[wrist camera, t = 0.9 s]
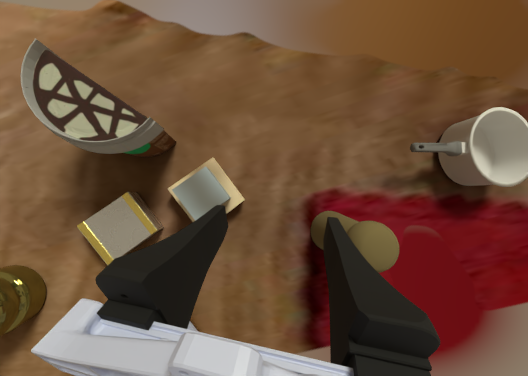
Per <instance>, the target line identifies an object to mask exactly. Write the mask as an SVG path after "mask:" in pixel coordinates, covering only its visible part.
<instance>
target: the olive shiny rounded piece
mask: <svg viewBox="0 0 528 376" xmlns="http://www.w3.org/2000/svg"><path fill="white" fill-rule="evenodd" d="M45 297H46V287H45V284H44V281H43V279H42V278H41V276H40V275H39V274H38V273H37V272H35V271H34V270H32V269H30V268H28V267H24V266H18V265H13V266H6V267H2V268H0V337H1V336H2V335H5V334H7V333H9V332H11V331H13V330H14V329H16V328H17V327H18V326H20V325H22V324H23V323H25V322H27V321H28V320H30V319H31V318H33V317H34V316H35V315H36V314H37V313H38V312H39V310H40V309H41V307H42V305H43V303H44V301H45Z"/></svg>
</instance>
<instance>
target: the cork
mask: <svg viewBox="0 0 528 376" xmlns="http://www.w3.org/2000/svg"><path fill="white" fill-rule="evenodd" d="M328 217H334V218H338V219H339V221H340V223H341V224H342V226H343V228H344V230H345V231H346V233H347V234H348V236H349V237H350V239H351V240H352V242H353V243H354V245H355V246H356V247H357V249H358V250H359V251H360V253H361V254H362V255H363V256H364V258H365V259H366V260H367V261H368V262H369V264H370V265H371V266H372V267H373V268H374V269H375V270H376V271H377V272H378V273H379V272H383V271H385V270H388V269H390V268H391V267H392V266H393V265H394V264H395V262H396V260H397V258H398V255H399V243H398V241H397V238H396V236H395V235H394V233H393V232H392V231H391V229H389V228H388V227H386V226H385V225H383V224H381V223H378V222H375V221H362V222H358V221H355V220H353V219H351V218H349V217H346V216H344V215H342V214H339V213H337V212H334V211H325V212H322V213H320V214H319V215H318V216H317V217H315V219H314V221H313V222H312V225H311V237H312V240H313V242H314V243H315V244H316V246H318V247H319V248H321V249H322V250H324V249H323V238H324V233H325V228H326V223H327V218H328Z"/></svg>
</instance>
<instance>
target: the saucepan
mask: <svg viewBox="0 0 528 376" xmlns="http://www.w3.org/2000/svg"><path fill="white" fill-rule="evenodd" d="M410 149H411V151H412V152H438V155H439V161H440V164H441V166H442V168H443V170H444V172H445V173H446V174H447V176H448V177H449V178H450V179H451V180H453V181H454V182H456V183H458V184H461V185H464V186H478V185H498V186H503V187H510V186H515V185H517V184H520V183H521V182H523V181H524V180H525V179H526V178H527V177H528V123H527V121H526V120H525V119H524V118H523V117H522V116H521V115H520V114H518V113H517V112H515V111H513V110H511V109H508V108H503V107H497V108H492V109H489V110H487V111H485V112H484V113H482V114H481V115H480V116H477V117H474V118H471V119H468V120H465V121H462V122H459V123H456V124H453V125H452V126H450V127H449V128H448V129H447V130H446V131H445V132H444V134H443V135H442V137H441V140H440V143H413V144H411V146H410Z"/></svg>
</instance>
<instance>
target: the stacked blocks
mask: <svg viewBox="0 0 528 376" xmlns="http://www.w3.org/2000/svg"><path fill="white" fill-rule="evenodd" d="M168 190H169V191H170V193H171V194H172V195H173V197H174V198H175V199H176V201H177V202H178V203H179V205H180V206H181V207H182V209H183V210H184V211H185V212H186V214H187V215H188V216H189V218H190V219H191V220H192V222H194V221H196V220H197V219H198V218H200V217H201V216H202V215H204V214H205V213H207V212H208V211H209V210H211V209H212V208H213V207H215V206H216V205H224V206H225V209H226V214H227V213H228V212H229V211H231V210H232V209H233V208H235V207H236V206H237V205H239V204H240V203H241V202H243V201H244V200H245V199H244V198H243V197H242V195H241V194H240V193H239V191H238V190H237V189H236V187H235V186H234V185H233V183H232V182H231V181H230V179H229V178H228V177H227V175H226V174H225V172H224V171H223V170H222V168H221V167H220V166H219V164H218V163H217V162H216V160H215V159H214V158H211V159H210V160H208V161H207V162H206V163H204V164H203V165H201V166H200V167H198V168H197V169H195V170H194V171H193V172H191V173H190V174H188V175H187V176H185V177H184V178H182V179H181V180H179V181H178V182H177V183H175V184H174V185H172V186H171V187H169V188H168Z"/></svg>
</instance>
